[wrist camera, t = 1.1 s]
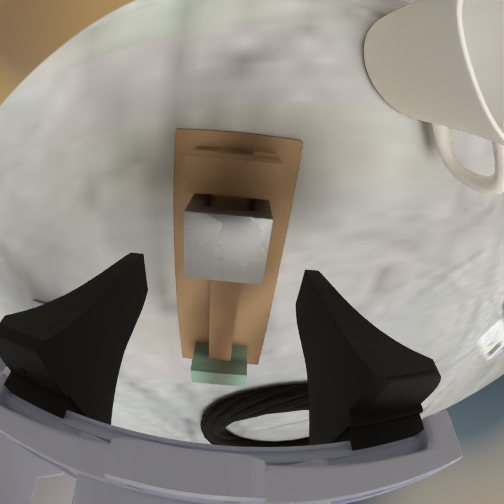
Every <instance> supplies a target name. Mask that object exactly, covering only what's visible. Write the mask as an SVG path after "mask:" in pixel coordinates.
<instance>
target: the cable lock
mask: <svg viewBox="0 0 504 504" xmlns="http://www.w3.org/2000/svg"><path fill="white" fill-rule="evenodd" d="M298 410H309V392H308V384H301V385H294V386H287V385H286V386H277V387H272V388H268V389H263V390H258V391H253V392H247V393H243V394H240V395H236V396H233V397H231V398H228V399H226V400H224V401H222V402H220V403H218V404H216V405H215V406H213V407H211V408H210V409H209V410H208V411H207V412H206V413H205V414H204V415H203V418H202V421H201V430H202V432H203V435H204V437H205V438H206V439H207V440H208V441H209V442H210V443H211V444H213V445H223V446H239V447H293V446H309V438H305V439H301V440H297V441H285V442H277V443H271V442H261V441H250V440H246V439H243V438H239V437H235V436H232V435H231V434H230V433H228V432H227V431H226V430H224V428H225V427H226V426H228V425H229V424H231V423H232V422H234V421H239V420H244V419H248V418H253V417H257V416H261V415H265V414H271V413H282V412H290V411H298Z"/></svg>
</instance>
